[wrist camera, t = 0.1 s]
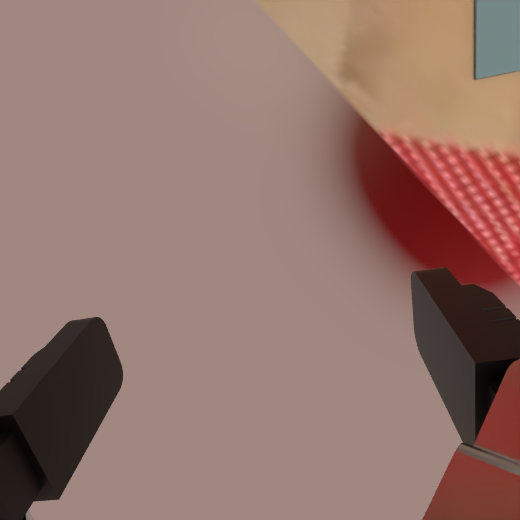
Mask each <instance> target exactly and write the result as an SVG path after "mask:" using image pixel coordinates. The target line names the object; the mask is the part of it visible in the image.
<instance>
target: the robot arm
mask: <svg viewBox="0 0 520 520" xmlns="http://www.w3.org/2000/svg"><path fill="white" fill-rule="evenodd" d="M411 289H412V304H413V319H414V331H415V338H416V342H417V346H418V349H419V352H420V354H421V356H422V358H423V360H424V363H425V365H426V367H427V369H428V371H429V373H430V375H431V377H432V379H433V381H434V383H435V385H436V387H437V389H438V392H439V394H440V396H441V398H442V400H443V402H444V404H445V406H446V408H447V410H448V412H449V414H450V416H451V418H452V421H453V423H454V425H455V427H456V429H457V431H458V433H459V435H460V437H461V439H462V441H463V443H461V444H460V445H459V446H458V448H457V450H456V451H455V453H454V455H453V457H452V459H451V461H450V463H449V465H448V467H447V470H446V471H445V474H444V475H443V478H442V480H441V482H440V484H439V486H438V488H437V490H436V492H435V495H434V496H433V498H432V501H431V503H430V505H429V507H428V509H427V511H426V513H425V515H424V517H423V519H422V520H520V320H518V319H517V320H516V316H515V315H514V314H513V313H512V312H511V311H510V310H509V309H508V308H507V309H506V307H505V305H504V304H503V303H502V302H501V301H500V300H499V299H498V298H497V297H496V296H495V295H494V294H493V293H492V292H489V291H487V290H485V289H483V288H481V287H479V286H477V285H474V284H470V285H461V284H460V283H459V282H458V281H457V280H456V278H455V277H454V276H453V275H452V274H451V272H450V271H449V270H448V269H447V268H446V267H443V268H436V269H429V270H422V271H415V272H412V275H411ZM21 369H22V370H21V371H18V372H17V373H16V374H15V375H14V376H13V378H12V379H11V382H9V383H7V384H6V385H5V386H4V387H3V388H2V389H1V390H0V520H34V519H33V517H32V516H31V514H30V513H29V511H28V509H29V508H30V506H31V504H32V503H33V501H45V500H58V499H59V498H60V497H61V495H62V493H63V491H64V489H65V488H66V486H67V484H68V482H69V480H70V478H71V477H72V475H73V473H74V471H75V470H76V468H77V466H78V464H79V462H80V461H81V459H82V457H83V455H84V453H85V452H86V450H87V448H88V446H89V444H90V442H91V441H92V439H93V437H94V435H95V433H96V432H97V430H98V428H99V426H100V424H101V422H102V421H103V419H104V417H105V415H106V414H107V412H108V410H109V408H110V406H111V405H112V403H113V401H114V399H115V397H116V395H117V394H118V392H119V390H120V388H121V385H122V380H123V370H122V365H121V363H120V360H119V357H118V355H117V352H116V350H115V347H114V344H113V342H112V339H111V337H110V334H109V332H108V329H107V327H106V324H105V323H104V321H103V320H102V319H101V318H99V317H94V318H87V319H80V320H73V321H70V322H68V323H67V324H66V325H65V326H64V327H63V328H62V329H61V330H60V331H59V332H58V333H57V334H56V336H55V337H54V338H53V339H52V340H51V341H50V342H49V343H48V344H47V345H46V346H45V347H44V348H43V349H41V350H40V351H38V352H37V353H36V354H34V355H33V356H32V357H31V358H30V359H29V361H28V362H27V363H26V364H25V365H24V366H23V367H22V368H21Z"/></svg>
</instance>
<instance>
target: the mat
mask: <svg viewBox="0 0 520 520" xmlns="http://www.w3.org/2000/svg"><path fill="white" fill-rule="evenodd" d="M515 71H520V0H474V79H480V78H485V77H490V76H495V75H500V74H505V73H510V72H515Z"/></svg>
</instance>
